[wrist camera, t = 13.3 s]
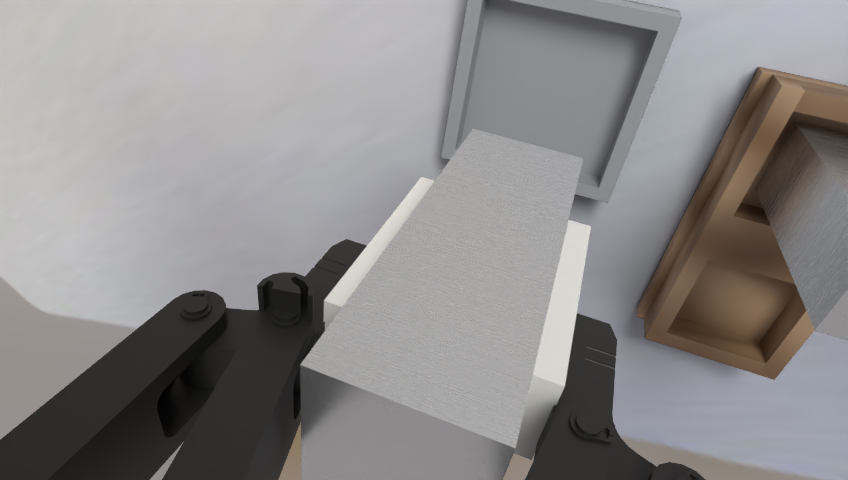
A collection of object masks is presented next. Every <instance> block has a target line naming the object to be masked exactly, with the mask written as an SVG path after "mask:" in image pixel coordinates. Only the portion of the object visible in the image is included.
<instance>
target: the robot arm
mask: <svg viewBox="0 0 848 480" xmlns="http://www.w3.org/2000/svg"><path fill="white" fill-rule="evenodd" d="M433 183H434V180H431V179H427V178H424V177H421V178H420V179H419V181H418V182H417V183H416V184H415V186H414V187H413V188H412V189H411V191H410V192H409V193H408V194H407V196H406V197H405V198H404V200H403V201H402V202H401V203H400V205H399V206H398V207H397V208H396V210H395V211H394V212H393V214H392V215H391V216H390V217H389V219H388V220H387V221H386V222H385V224H384V225H383V226H382V227H381V229H380V230H379V231H378V233H377V234H376V235H375V236H374V238H373V239H372V240H371V241H370V243H369V244H368V245H367V246H366V245H363V244H360V243H357V242H354V241H351V240H348V239H346V240H344V241H342V242H340V243H338V244H336V245H334V246H332V247H331V248H330V249H329V250H328V251H327V253H326V254H325V255H324V256H323V257H322V259H320V260H319V262H318V263H317V264H316V265H315V267H314V268H312V270H311V271H310V272H309V273H308V274H307V275H306V276H305V277H304V276H302V275H299V274H296V273H285V272H283V273H278V274H273V275H271V276H269V277H267V278H265V279H263V280H262V281H261V282H260V283H259V284H258V285H257V289H258V302H259V310H241V309H229V308H226V304H225V302H224V300H223V298H222V297H221V296H219V295H218V294H216V293H214V292H210V291H205V290H204V291H192V292H188V293H185V294H182V295H180V296H179V297H177V298H175V299H174V300H172V301H171V302H170V303H169V304H167V305H166V306H165V307H164V308H163V309H161V310H160V311H159V312H158V313H156V314H155V315H154V316H153V317H151V318H150V319H149V320H148V321H146V322H145V323H144V324H143V325H142V326H140V327H139V328H138V329H137V330H135V331H134V332H133V333H132V334H131V335H129V336H128V337H127V338H125V339H124V340H123V341H122V342H121V343H119V344H118V345H117V346H116V347H114V348H113V349H112V350H111V351H109V352H108V353H107V354H106V355H104V356H103V357H102V358H101V359H100V360H98V361H97V362H96V363H95V364H93V365H92V366H91V367H90V368H88V369H87V370H86V371H85V372H83V373H82V374H81V375H80V376H79V377H77V378H76V379H75V380H74V381H72V382H71V383H70V384H69V385H67V386H66V387H65V388H64V389H62V390H61V391H60V392H59V393H58V394H56V395H55V396H54V397H53V398H52V399H50V400H49V401H48V402H46V403H45V404H44V405H43V406H41V407H40V408H39V409H38V410H37V411H36V412H34V413H33V414H32V415H30V416H29V417H28V418H27V419H26V420H24V421H23V422H22V423H21V424H19V425H18V426H17V427H16V428H14V429H13V430H12V431H11V432H9V433H8V434H7V435H6V436H4V437H3V438H2V439H1V440H0V480H150V478H151V477H152V476H153V475H154V474H155V473H156V472H157V471H158V470H159V468H160V467H161V466H162V465H163V464H164V463H165V462H166V460H167V459H168V458H169V457H170V456H171V455H172V454H173V453H174V452H175V450H176V449H177V448H178V447H179V446H180V445H181V444H182V442H184V443H183V444H182V446H181V448H180V450H179V451H178V453H177V455H176V456H175V458H174V460H173V462H172V464H171V465H170V467H169V469H168V471H167V472H166V474H165V476H164V477H163V479H162V480H278V479H279V476H280V474H281V471H282V469H283V466H284V463H285V461H286V458H287V456H288V453H289V450H290V448H291V445H292V443H293V440H294V437H295V435H296V432H297V430H298V427H299V425H300V422H301V384H300V364H301V363H302V362H303V360H304V359H305V358H306V356H307V355H308V353H309V352H310V351H311V349H312V348H313V347H314V345H315V344H316V343H317V341H318V340H319V338H320V337H321V336H322V334H323V333H324V332H325V330H326V329H327V328H328V326H329V325H330V323H331V322H332V321H333V319H334V318H335V317H336V315H337V314H338V312H339V311H340V310H341V308H342V307H343V306H344V304H345V303H346V302H347V300H348V299H349V297H350V296H351V295H352V293H353V292H354V291H355V289H356V288H357V287H358V285H359V284H360V282H361V281H362V280H363V278H364V277H365V276H366V274H367V273H368V271H369V270H370V269H371V267H372V266H373V265H374V263H375V262H376V261H377V259H378V258H379V256H380V255H381V254H382V252H383V251H384V250H385V248H386V247H387V245H388V244H389V243H390V241H391V240H392V239H393V237H394V236H395V235H396V233H397V232H398V230H399V229H400V228H401V226H402V225H403V224H404V222H405V221H406V220H407V218H408V217H409V215H410V214H411V213H412V211H413V210H414V209H415V207H416V206H417V204H418V203H419V202H420V200H421V199H422V198H423V196H424V195H425V194H426V192H427V191H428V189H429V188H430V187H431V185H432V184H433ZM590 229H591V226H588V225H584V224H581V223H578V222H574V221H571V220H569V221H568V225H567V230H566V234H565V238H564V243H563V247H562V251H561V255H560V260H559V264H558V268H557V273H556V277H555V281H554V285H553V290H552V294H551V298H550V303H549V307H548V311H547V315H546V320H545V324H544V328H543V333H542V337H541V341H540V345H539V350H538V354H537V358H536V363H535V367H534V371H533V375H532V380H531V384H530V388H529V393H528V397H527V401H526V405H525V410H524V414H523V418H522V423H521V427H520V431H519V435H518V440H517V444H516V448H515V451H514V453H515V454H518V455H520V456H523V457H526V458H528V459H531V460H532V458H533V455H534V453H535V456H534V461H533V464H532V466H531V468H530V470H529V472H528V475H527V477H526V479H525V480H705V479H704V478H703V477H702V476H701V475H699V474H698V473H697V472H696V471H694V470H692V469H690V468H688V467H686V466H684V465H682V464H677V463H671V462H668V463H664V464H660V465H658V467H656V466H655V465H653V464H652V463H650V462H649V461H647V460H646V459H644V458H643V457H641V456H640V455H638V454H637V453H636V452H634V451H633V450H632V449H631V448H629V447H628V446H627V445H626V443H625V442H624V441H623V440H622V439H621V438H620V436H619V434H618V433H617V431H616V428H615V425H614V423H613V417H612V409H613V394H614V378H615V370H614V369H615V362H616V358H615V356H616V347H617V339H616V337H615V335H614V332H613V330H612V328H611V326H610V324H608V323H605V322H602V321H599V320H595V319H592V318H589V317H586V316H583V315H580V314H577V309H578V303H579V297H580V291H581V284H582V278H583V272H584V266H585V260H586V254H587V248H588V242H589V235H590ZM184 440H185V441H184Z"/></svg>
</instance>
